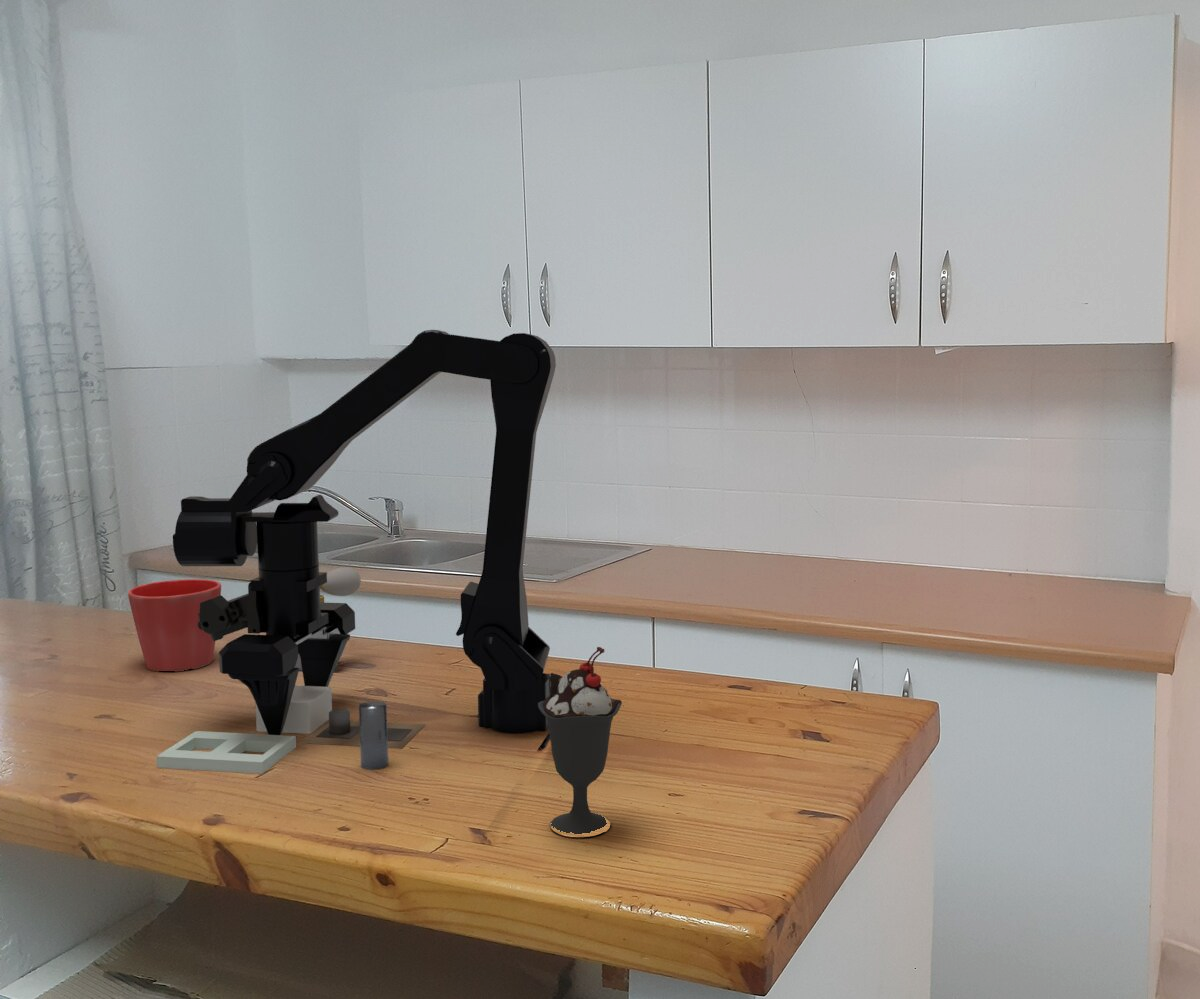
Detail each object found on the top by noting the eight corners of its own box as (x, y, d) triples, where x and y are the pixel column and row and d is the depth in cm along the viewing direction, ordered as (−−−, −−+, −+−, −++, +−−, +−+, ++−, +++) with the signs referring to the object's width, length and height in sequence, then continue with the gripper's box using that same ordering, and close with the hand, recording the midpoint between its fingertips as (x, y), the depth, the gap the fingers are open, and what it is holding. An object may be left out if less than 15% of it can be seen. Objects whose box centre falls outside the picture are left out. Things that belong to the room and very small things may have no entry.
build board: (296, 761, 109) (295, 736, 109) (263, 789, 102) (261, 762, 102) (197, 756, 111) (196, 731, 110) (157, 783, 104) (156, 756, 103)
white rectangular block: (332, 730, 118) (331, 686, 117) (310, 748, 113) (308, 703, 112) (281, 727, 119) (279, 684, 118) (257, 745, 114) (255, 700, 113)
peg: (392, 776, 105) (390, 701, 104) (383, 786, 103) (380, 709, 102) (367, 775, 105) (364, 700, 104) (357, 785, 103) (354, 708, 102)
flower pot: (113, 667, 142) (108, 589, 141) (190, 648, 151) (186, 574, 150) (166, 681, 136) (162, 599, 135) (243, 660, 145) (239, 583, 144)
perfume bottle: (268, 673, 139) (264, 574, 137) (323, 654, 148) (319, 561, 146) (317, 681, 136) (313, 580, 134) (370, 661, 144) (367, 566, 143)
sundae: (626, 841, 91) (626, 654, 89) (540, 844, 90) (538, 656, 88) (618, 808, 97) (617, 633, 95) (538, 811, 97) (535, 635, 95)
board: (426, 739, 115) (425, 704, 115) (402, 763, 108) (401, 727, 108) (330, 734, 117) (329, 700, 116) (301, 758, 110) (299, 722, 109)
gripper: (255, 548, 124) (261, 690, 126) (161, 582, 106) (170, 748, 108) (354, 550, 122) (359, 695, 124) (276, 586, 104) (283, 754, 106)
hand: (295, 721), depth 116 cm, fingers open, 9 cm apart
